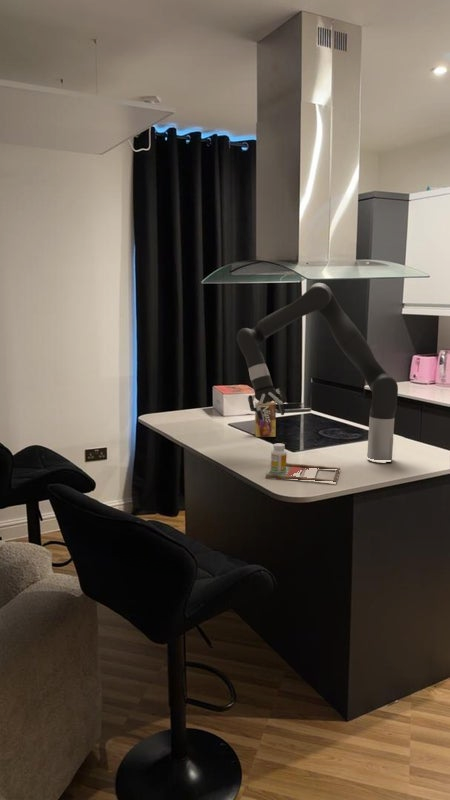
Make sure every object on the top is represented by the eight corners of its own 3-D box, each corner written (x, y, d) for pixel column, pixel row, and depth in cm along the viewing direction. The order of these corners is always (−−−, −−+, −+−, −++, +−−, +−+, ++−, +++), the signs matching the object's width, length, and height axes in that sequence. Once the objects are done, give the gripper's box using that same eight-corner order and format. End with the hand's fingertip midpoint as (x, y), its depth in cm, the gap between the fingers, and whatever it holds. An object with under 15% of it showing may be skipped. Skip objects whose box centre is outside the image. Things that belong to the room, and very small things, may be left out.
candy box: (273, 434, 269) (274, 401, 266) (275, 437, 265) (276, 403, 262) (254, 434, 268) (255, 401, 265) (255, 437, 264) (256, 403, 261)
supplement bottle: (284, 468, 216) (285, 442, 215) (286, 473, 211) (287, 446, 209) (270, 468, 216) (270, 442, 215) (271, 473, 211) (272, 446, 209)
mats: (318, 470, 216) (318, 469, 216) (314, 481, 204) (314, 480, 204) (291, 467, 219) (291, 466, 219) (285, 478, 207) (285, 477, 207)
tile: (289, 467, 219) (289, 466, 219) (283, 478, 207) (283, 477, 207) (273, 466, 221) (273, 465, 221) (266, 476, 208) (266, 475, 208)
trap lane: (339, 471, 216) (340, 467, 216) (335, 484, 201) (336, 481, 200) (274, 465, 222) (274, 462, 222) (265, 478, 207) (265, 474, 207)
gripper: (244, 379, 225) (256, 420, 223) (279, 370, 228) (292, 411, 225) (241, 384, 233) (253, 424, 230) (275, 375, 235) (287, 414, 233)
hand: (272, 417), depth 228 cm, fingers open, 8 cm apart
